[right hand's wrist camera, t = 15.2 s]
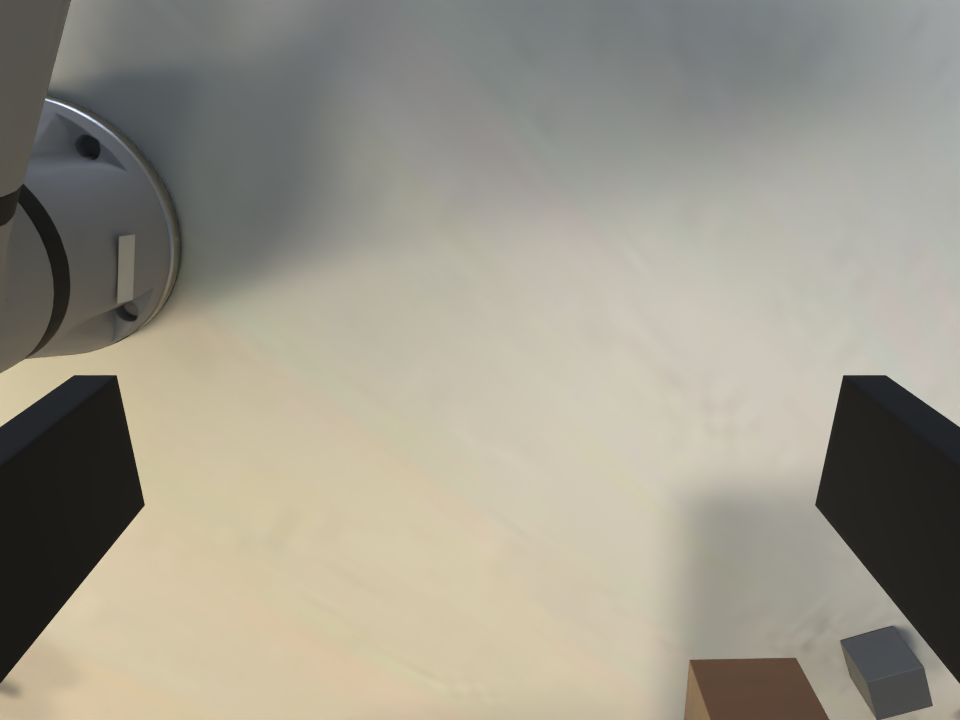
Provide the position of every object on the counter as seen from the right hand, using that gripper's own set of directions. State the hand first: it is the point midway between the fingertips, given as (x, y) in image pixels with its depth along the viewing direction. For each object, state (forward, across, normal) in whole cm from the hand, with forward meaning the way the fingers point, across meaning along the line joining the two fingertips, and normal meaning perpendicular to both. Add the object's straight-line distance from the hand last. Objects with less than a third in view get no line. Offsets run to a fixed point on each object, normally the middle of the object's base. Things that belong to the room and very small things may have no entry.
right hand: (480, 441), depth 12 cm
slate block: (+29, +30, -34) cm, 54 cm away
